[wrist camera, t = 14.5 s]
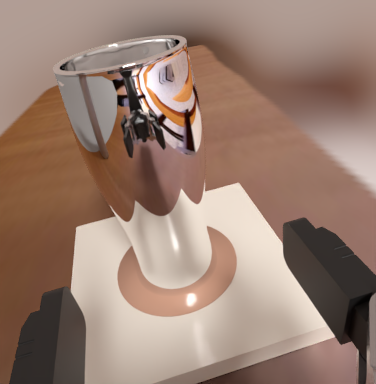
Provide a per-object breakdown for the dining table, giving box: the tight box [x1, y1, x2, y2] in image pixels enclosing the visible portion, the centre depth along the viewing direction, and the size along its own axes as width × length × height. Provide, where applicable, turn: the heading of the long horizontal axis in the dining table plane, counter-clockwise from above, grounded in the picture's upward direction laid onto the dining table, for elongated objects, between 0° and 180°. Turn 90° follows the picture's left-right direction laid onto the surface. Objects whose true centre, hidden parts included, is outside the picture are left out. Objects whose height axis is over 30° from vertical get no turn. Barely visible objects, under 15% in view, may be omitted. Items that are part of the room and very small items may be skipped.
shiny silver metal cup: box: [53, 35, 217, 297], centre depth 20 cm, size 7×7×15 cm
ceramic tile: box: [71, 183, 335, 384], centre depth 25 cm, size 16×16×2 cm
